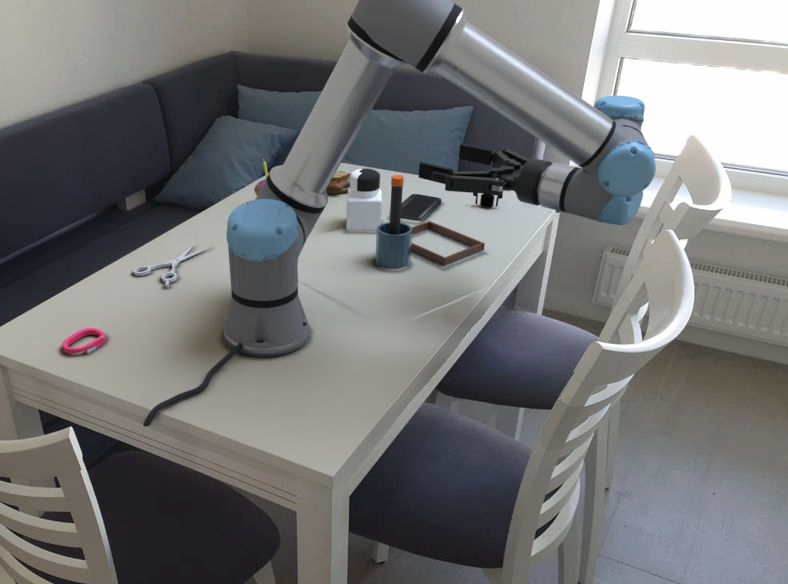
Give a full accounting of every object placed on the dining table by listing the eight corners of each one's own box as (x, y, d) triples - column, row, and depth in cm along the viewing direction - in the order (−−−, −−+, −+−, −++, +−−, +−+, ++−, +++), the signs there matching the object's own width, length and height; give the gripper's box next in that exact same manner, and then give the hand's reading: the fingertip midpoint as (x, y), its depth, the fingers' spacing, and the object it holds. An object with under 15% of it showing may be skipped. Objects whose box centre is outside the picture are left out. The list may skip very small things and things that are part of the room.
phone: (442, 198, 195) (420, 219, 184) (442, 202, 195) (420, 223, 185) (412, 193, 198) (388, 213, 187) (412, 197, 199) (388, 218, 188)
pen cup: (392, 275, 163) (394, 238, 159) (368, 263, 168) (369, 227, 163) (417, 265, 167) (419, 229, 162) (393, 254, 171) (395, 219, 167)
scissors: (125, 273, 164) (184, 238, 178) (126, 277, 164) (184, 241, 179) (167, 284, 159) (223, 247, 174) (167, 288, 160) (223, 250, 174)
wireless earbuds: (471, 206, 193) (473, 186, 190) (472, 203, 195) (475, 183, 192) (500, 209, 191) (503, 189, 188) (502, 206, 193) (504, 185, 190)
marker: (392, 264, 165) (397, 179, 155) (384, 260, 167) (388, 176, 157) (400, 261, 167) (406, 177, 157) (392, 257, 168) (397, 174, 158)
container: (380, 220, 187) (382, 165, 180) (380, 233, 181) (382, 177, 174) (347, 219, 188) (348, 165, 181) (346, 232, 182) (347, 177, 174)
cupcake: (250, 212, 193) (248, 163, 186) (261, 200, 200) (260, 152, 193) (284, 215, 191) (283, 166, 184) (294, 203, 198) (294, 155, 191)
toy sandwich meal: (368, 183, 208) (369, 166, 205) (339, 199, 199) (340, 181, 196) (329, 174, 214) (329, 157, 212) (299, 189, 205) (299, 171, 203)
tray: (444, 269, 165) (445, 258, 163) (389, 244, 176) (390, 234, 174) (483, 253, 171) (484, 243, 170) (428, 230, 182) (429, 220, 180)
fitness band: (80, 359, 138) (78, 352, 137) (56, 350, 141) (54, 343, 140) (112, 339, 144) (111, 331, 143) (89, 330, 146) (87, 323, 146)
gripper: (507, 227, 131) (400, 198, 143) (575, 185, 146) (474, 162, 158) (513, 183, 127) (403, 157, 139) (582, 145, 142) (478, 124, 154)
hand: (440, 160), depth 149 cm, fingers open, 13 cm apart
